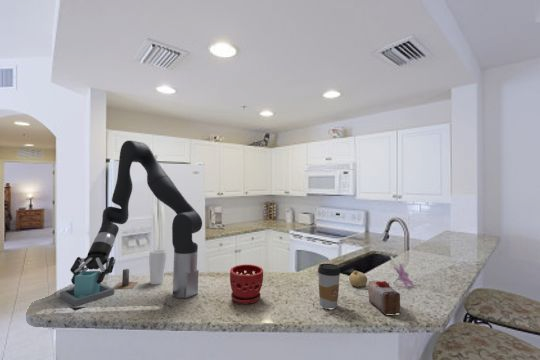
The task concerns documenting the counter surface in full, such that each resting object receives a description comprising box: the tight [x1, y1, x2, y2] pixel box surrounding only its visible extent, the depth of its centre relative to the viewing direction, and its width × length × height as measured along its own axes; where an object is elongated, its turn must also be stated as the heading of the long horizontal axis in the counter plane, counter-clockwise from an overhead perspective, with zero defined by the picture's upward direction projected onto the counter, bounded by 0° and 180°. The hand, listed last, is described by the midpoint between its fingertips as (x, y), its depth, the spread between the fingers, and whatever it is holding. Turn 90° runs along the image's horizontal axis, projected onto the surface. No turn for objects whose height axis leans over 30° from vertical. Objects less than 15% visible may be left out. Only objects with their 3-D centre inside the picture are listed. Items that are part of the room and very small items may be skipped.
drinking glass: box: [148, 249, 167, 285], centre depth 117 cm, size 7×7×15 cm
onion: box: [348, 270, 368, 288], centre depth 122 cm, size 8×8×7 cm
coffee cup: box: [317, 263, 341, 309], centre depth 100 cm, size 8×8×15 cm
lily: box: [392, 262, 415, 290], centre depth 123 cm, size 12×12×10 cm
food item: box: [367, 280, 401, 315], centre depth 100 cm, size 14×8×10 cm, turn 6°
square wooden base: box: [112, 268, 139, 290], centre depth 112 cm, size 8×8×8 cm
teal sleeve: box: [73, 270, 101, 298], centre depth 100 cm, size 6×8×9 cm
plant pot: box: [229, 264, 264, 305], centre depth 104 cm, size 13×13×12 cm
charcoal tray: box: [59, 282, 115, 312], centre depth 100 cm, size 13×13×4 cm
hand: (86, 283), depth 99 cm, fingers open, 8 cm apart
